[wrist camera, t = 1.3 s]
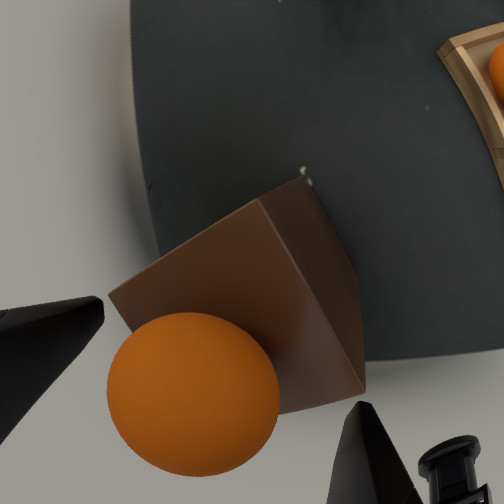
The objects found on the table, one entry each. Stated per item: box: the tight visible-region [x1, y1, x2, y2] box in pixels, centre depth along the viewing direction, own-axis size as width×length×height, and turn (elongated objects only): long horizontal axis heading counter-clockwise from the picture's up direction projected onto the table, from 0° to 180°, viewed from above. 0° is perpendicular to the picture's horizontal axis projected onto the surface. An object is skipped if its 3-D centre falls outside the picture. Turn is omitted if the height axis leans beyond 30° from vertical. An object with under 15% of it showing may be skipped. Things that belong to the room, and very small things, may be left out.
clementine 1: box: [107, 312, 280, 477], centre depth 7 cm, size 5×5×5 cm
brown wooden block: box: [108, 175, 366, 415], centre depth 13 cm, size 7×7×10 cm
